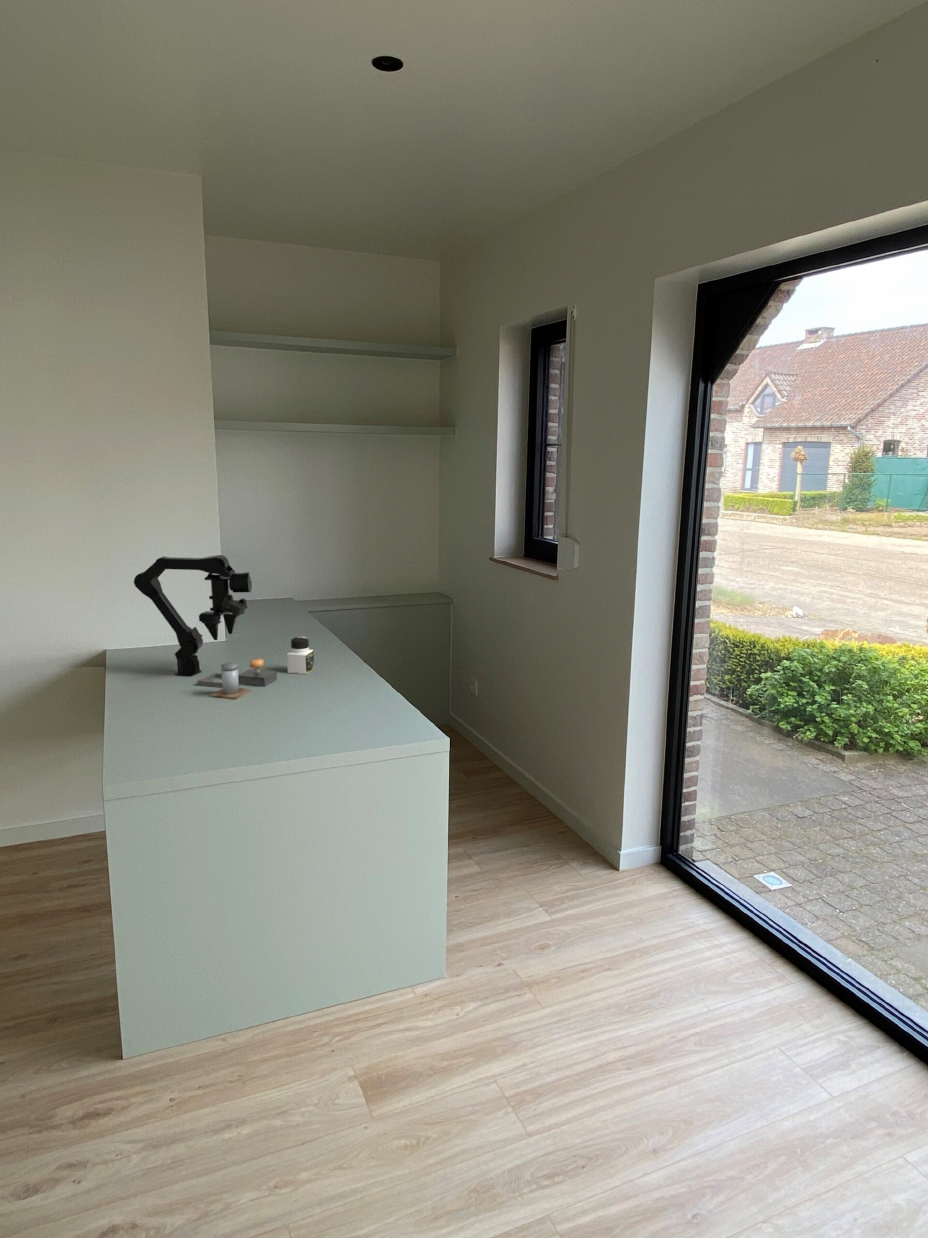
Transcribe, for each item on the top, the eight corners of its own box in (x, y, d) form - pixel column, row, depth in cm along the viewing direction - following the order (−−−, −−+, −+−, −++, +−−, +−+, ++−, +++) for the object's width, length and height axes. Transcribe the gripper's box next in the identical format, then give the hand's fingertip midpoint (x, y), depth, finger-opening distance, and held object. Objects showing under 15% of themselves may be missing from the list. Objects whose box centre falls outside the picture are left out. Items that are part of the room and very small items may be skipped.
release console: (238, 683, 266) (237, 675, 266) (250, 677, 274) (250, 668, 273) (264, 686, 264) (264, 677, 263) (276, 679, 271) (276, 671, 270)
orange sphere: (247, 674, 266) (247, 661, 266) (254, 670, 271) (253, 658, 270) (259, 675, 265) (259, 662, 264) (266, 671, 269) (265, 659, 269)
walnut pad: (210, 696, 253) (210, 694, 253) (226, 688, 261) (226, 686, 261) (236, 699, 250) (235, 697, 250) (250, 690, 259) (250, 689, 259)
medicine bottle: (306, 674, 278) (305, 641, 275) (287, 673, 279) (285, 639, 276) (314, 668, 284) (313, 636, 282) (295, 667, 286) (294, 635, 283)
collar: (197, 685, 265) (197, 680, 264) (214, 676, 274) (214, 672, 274) (224, 687, 262) (224, 683, 262) (240, 679, 271) (240, 675, 271)
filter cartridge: (219, 693, 254) (217, 666, 252) (228, 688, 259) (226, 662, 257) (233, 695, 253) (232, 667, 251) (242, 690, 257) (240, 663, 255)
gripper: (226, 598, 261) (229, 645, 265) (255, 589, 279) (257, 632, 282) (196, 597, 264) (199, 642, 268) (227, 587, 282) (229, 630, 285)
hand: (223, 636), depth 276 cm, fingers open, 9 cm apart
